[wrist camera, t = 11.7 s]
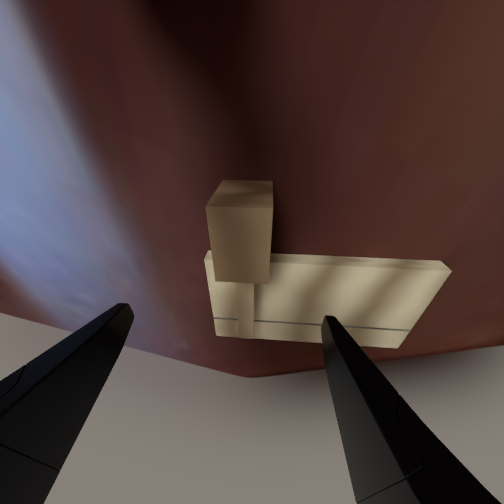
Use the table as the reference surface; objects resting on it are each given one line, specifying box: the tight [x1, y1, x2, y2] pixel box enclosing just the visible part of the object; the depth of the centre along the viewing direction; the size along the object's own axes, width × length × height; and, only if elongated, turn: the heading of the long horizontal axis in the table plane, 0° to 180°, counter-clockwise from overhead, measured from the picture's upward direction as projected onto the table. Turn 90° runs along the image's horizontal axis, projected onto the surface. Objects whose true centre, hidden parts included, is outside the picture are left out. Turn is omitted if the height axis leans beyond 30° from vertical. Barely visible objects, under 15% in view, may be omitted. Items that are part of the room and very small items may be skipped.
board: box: [204, 250, 452, 348], centre depth 23 cm, size 22×12×2 cm, turn 90°
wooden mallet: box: [206, 180, 273, 339], centre depth 19 cm, size 4×16×6 cm, turn 0°
